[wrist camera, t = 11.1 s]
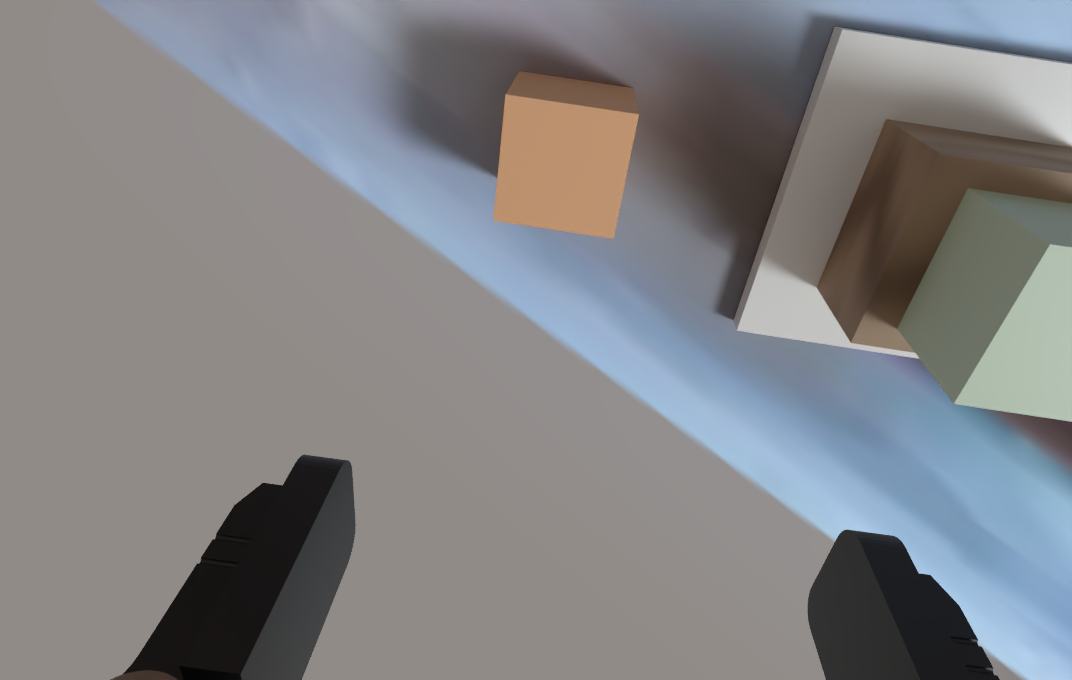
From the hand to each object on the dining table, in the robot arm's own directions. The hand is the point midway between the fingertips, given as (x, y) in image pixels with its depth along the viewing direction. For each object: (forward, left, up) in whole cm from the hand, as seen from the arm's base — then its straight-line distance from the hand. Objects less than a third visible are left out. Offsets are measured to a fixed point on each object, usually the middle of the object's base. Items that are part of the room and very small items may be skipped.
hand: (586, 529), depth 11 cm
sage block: (+1, +16, -16) cm, 23 cm away
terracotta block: (0, -1, -22) cm, 22 cm away
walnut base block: (+1, +16, -21) cm, 26 cm away
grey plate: (+1, +16, -22) cm, 27 cm away
